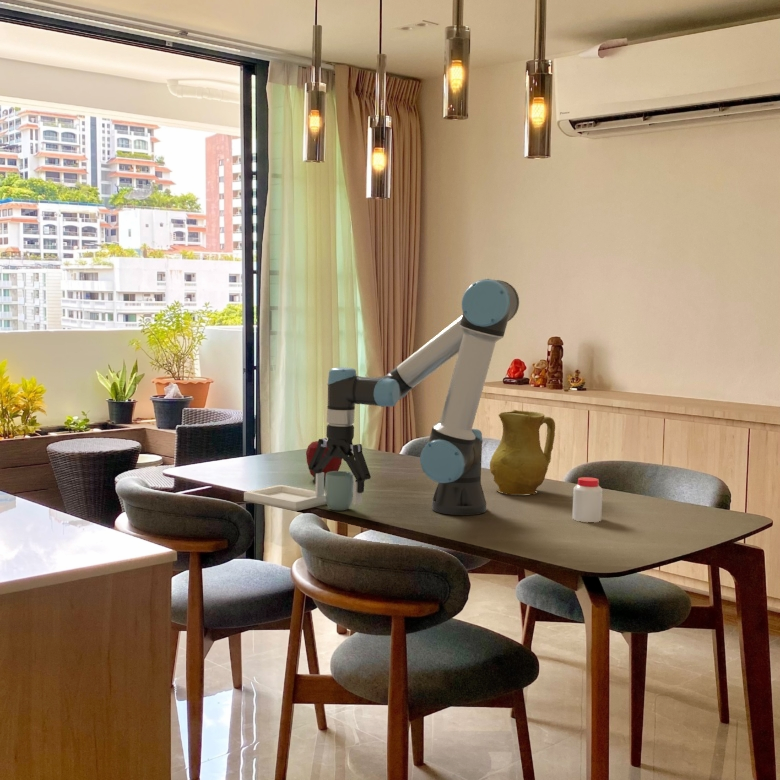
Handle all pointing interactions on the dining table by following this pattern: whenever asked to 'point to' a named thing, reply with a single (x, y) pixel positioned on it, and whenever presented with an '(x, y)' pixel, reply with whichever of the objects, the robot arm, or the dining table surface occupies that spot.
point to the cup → (339, 489)
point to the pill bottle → (587, 500)
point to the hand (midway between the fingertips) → (337, 500)
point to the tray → (285, 497)
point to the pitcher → (522, 452)
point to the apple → (331, 466)
